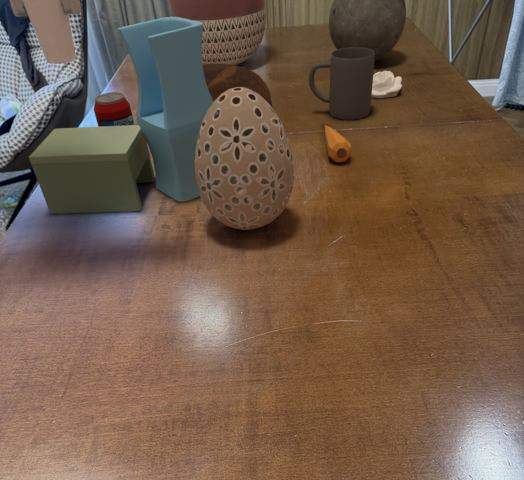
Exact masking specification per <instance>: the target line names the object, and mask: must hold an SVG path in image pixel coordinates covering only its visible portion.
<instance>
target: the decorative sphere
mask: <svg viewBox="0 0 524 480" xmlns="http://www.w3.org/2000/svg"><path fill="white" fill-rule="evenodd" d="M329 9H330V10H329V15H328V30H329V36H330V39H331V42H332V44H333V46H334V47H335V50H337V49H341V48H348V47H363V48H369V49H371V50H373V51H374V62H375V61H376V62H377V61H378V60H380V59H382V58H383V57H385V56H386V55H388V54H389V53H390V52H391V51H392V50H393V49H394V48H395V46H396V45H397V44H398V42H399V40H400V39H401V36H402V34H403V32H404V29H405V25H406V19H407V6H406V1H405V0H333V1H332V3H331V6H330V8H329Z"/></svg>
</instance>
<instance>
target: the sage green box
mask: <svg viewBox="0 0 524 480" xmlns="http://www.w3.org/2000/svg"><path fill="white" fill-rule="evenodd" d="M28 160H29V162H30V165H31V168H32V171H33V172H34V175H35V178H36V180H37V182H38V185H39V188H40V190H41V193H42V196H43V198H44V201H45V203H46V206H47V209H48V211H49V214H51V215H53V214H55V215H56V214H84V213H85V214H86V213H90V214H91V213H92V214H93V213H120V212H121V213H123V212H141V211H142V208H143V205H142V201H141V197H140V193H139V189H138V187H137V186H138V185H137V183H138V184H141V183H142V184H143V183H154V182H155V181H156V176H155V172H154V167H153V164H152V159H151V153H150V149H149V146H148V144H147V141H146V139H145V137H144V135H143V133H142V131H141V128H140V126H139V124H135V125H126V126H103V127H98V126H85V127H84V126H82V127H59V128H54V129H52V131H51V132H50V133H49V134H48V135H47V136H46V138H44V140H43V141H42V142H41V143H40V144H39V145H38V146H37V147H36V149H34V151H33V152H32V153H30V155H29V156H28Z"/></svg>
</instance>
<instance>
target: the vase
mask: <svg viewBox="0 0 524 480" xmlns="http://www.w3.org/2000/svg"><path fill="white" fill-rule="evenodd" d="M117 31H118V33H119V35H120V37H121V40H122V42H123V43H124V46H125V48H126V50H127V51H128V55H129V57H130V60H131V61H132V64H133V67H134V72H135V73H136V74H135V75H136V79H137V90H138V92H137V93H138V95H137V96H138V98H137V107H136V121H137V125H139V126H140V128H141V131H142V133H143V135H144V137H145V139H146V141H147V145H148V149H149V152H150V155H151V157H152V161H153V166H154V176H155V188H156V190H158V191H160V192H161V193H163V194H165V195H166V196H168V197H170V198H171V199H172V200H174V201H176V202H178V203H185V202H188V201H192V200H195V199H196V198H200V197H201V196H200V193H199V191H198V187H197V182H196V176H195V150H196V144H197V139H198V134H199V131H200V128H201V125H202V122H203V119H204V117H205V115H206V113H207V111H208V110H209V108H210V107H211V105H212V104H213V100H212V98H211V95H210V93H209V90H208V87H207V85H206V81H205V77H204V73H203V65H202V34H203V23H202V22H198V21H194V20H189V19H184V18H180V17H171V16H164V17H160V18H155V19H152V20H146V21H142V22H138V23H134V24H130V25H125V26H120V27H117ZM215 114H218V111H216V112H215ZM202 127H203V125H202ZM199 149H200V148H199ZM209 150H210V148H208V149H207V151H208V152H209ZM214 159H215V156H214V157H213V158H212V160H213V161H214ZM199 174H200V173H199ZM202 180H203V181H204V182H205V180H204V177H203V176H202ZM219 184H220V183H219ZM209 185H210V184H209ZM212 185H213V183H212ZM210 186H211V185H210Z"/></svg>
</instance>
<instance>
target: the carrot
mask: <svg viewBox="0 0 524 480" xmlns="http://www.w3.org/2000/svg"><path fill="white" fill-rule="evenodd" d="M324 136H325V143H326V149H327V155H328V157H329V158H330V159H331V160H332V161H333V162H334V163H344V162H346V161H347V160H348V159H349V158H350V157H351V153H352V151H351V150H352V144H351V143H350V142H349V140H347V138H345V137H344V136H343V135H341V134H340V133H339V132H338V131H336V129H334V128H332V127H331V126H329V125H327V124H324Z"/></svg>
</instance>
